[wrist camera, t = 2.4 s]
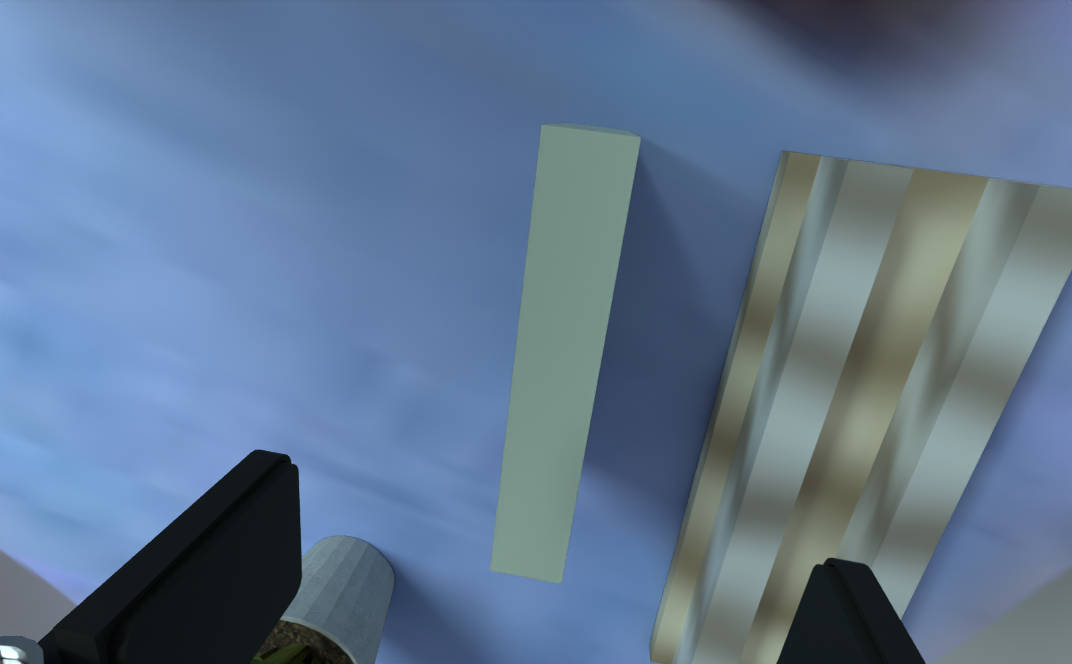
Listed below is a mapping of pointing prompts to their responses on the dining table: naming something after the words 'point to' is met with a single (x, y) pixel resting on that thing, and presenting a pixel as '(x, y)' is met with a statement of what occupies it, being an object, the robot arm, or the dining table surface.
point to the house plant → (334, 607)
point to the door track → (856, 389)
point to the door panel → (560, 339)
